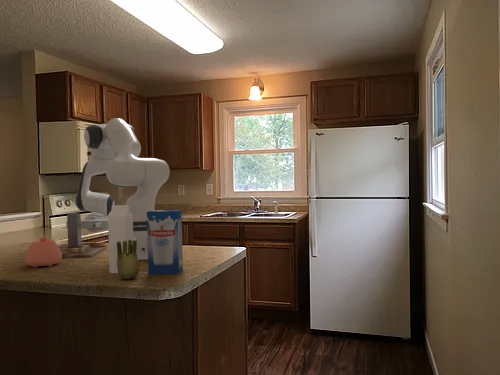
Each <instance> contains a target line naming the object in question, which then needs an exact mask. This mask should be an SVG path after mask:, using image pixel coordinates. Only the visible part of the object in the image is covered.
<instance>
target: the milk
mask: <svg viewBox="0 0 500 375" xmlns="http://www.w3.org/2000/svg"><path fill="white" fill-rule="evenodd" d="M107 230H108V231H107V232H108V234H107V235H108V257H109V258H108V260H109V262H108V263H109V265H108V266H109V274H118V269H117V242H118V241H121V248H122V253H123V241H125V240H126V241H127V254H128V240H129V239H130V240H132V241H133V215H132V213H131V212H130V210H129V206H128V205H125V204H119V205H118V204H115V205H112V210H111V212H110V213H109V215H108V229H107Z"/></svg>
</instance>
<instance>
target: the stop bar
mask: <svg viewBox="0 0 500 375" xmlns="http://www.w3.org/2000/svg"><path fill="white" fill-rule="evenodd" d="M66 218H67V219H66V220H67V221H66V222H67V227H68V229H67V246H68V248H80V247H82V246H81V245H82V228H81V218H82V216H81V212H71V213H70V212H69V213H67V214H66Z"/></svg>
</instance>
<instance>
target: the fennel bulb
mask: <svg viewBox="0 0 500 375" xmlns="http://www.w3.org/2000/svg"><path fill="white" fill-rule="evenodd" d="M136 250H137V241H136V240H133V241H132V240H130V239H129V240H128V254H127V241H126V240H125V241H123V253H122V248H121V241H118V242H117V269H118V273H117V274H118V275H119V277H120V279H123V280H134V279H135V278H137V277H138V275H139V271H140V268H139V267H140V266H139V260H138V258H137V251H136Z"/></svg>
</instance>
